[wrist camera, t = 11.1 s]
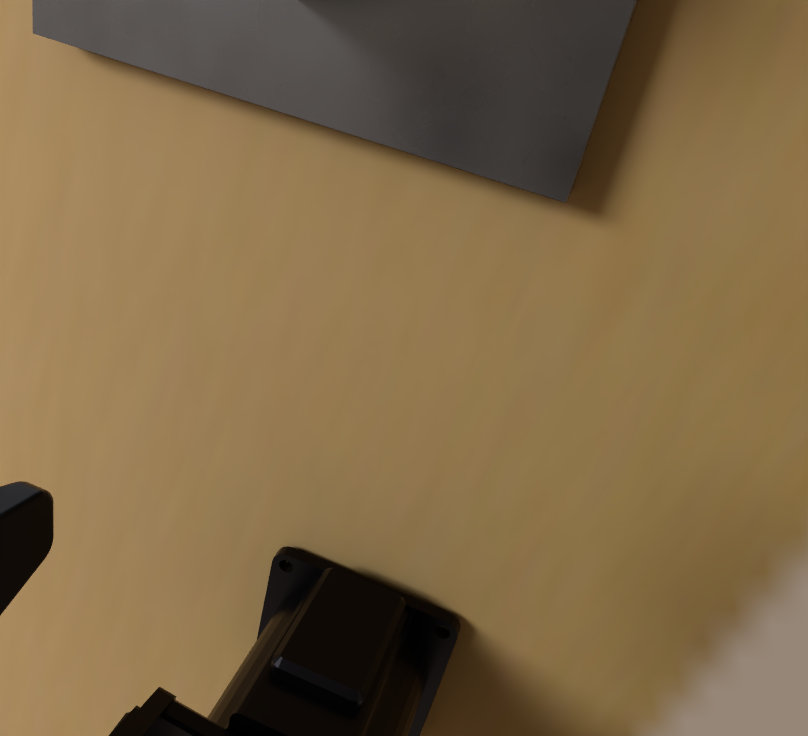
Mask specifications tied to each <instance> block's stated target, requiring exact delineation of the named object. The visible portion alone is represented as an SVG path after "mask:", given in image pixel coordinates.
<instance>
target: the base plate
mask: <svg viewBox="0 0 808 736" xmlns="http://www.w3.org/2000/svg"><path fill="white" fill-rule="evenodd" d="M637 1H638V0H33V33H34V34H37V35H40V36H43V37H46V38H49V39H53V40H56V41H59V42H62V43H65V44H68V45H71V46H75V47H78V48H81V49H84V50H87V51H90V52H93V53H97V54H100V55H103V56H106V57H109V58H112V59H115V60H119V61H122V62H125V63H128V64H131V65H134V66H137V67H141V68H144V69H147V70H150V71H153V72H156V73H159V74H163V75H166V76H169V77H172V78H175V79H178V80H181V81H185V82H188V83H191V84H194V85H197V86H200V87H203V88H207V89H210V90H213V91H216V92H219V93H222V94H225V95H229V96H232V97H235V98H238V99H241V100H244V101H247V102H251V103H254V104H257V105H260V106H263V107H266V108H269V109H273V110H276V111H279V112H282V113H285V114H288V115H292V116H295V117H298V118H301V119H304V120H307V121H310V122H314V123H317V124H320V125H323V126H326V127H329V128H332V129H336V130H339V131H342V132H345V133H348V134H351V135H354V136H358V137H361V138H364V139H367V140H370V141H373V142H376V143H380V144H383V145H386V146H389V147H392V148H395V149H398V150H402V151H405V152H408V153H411V154H414V155H417V156H420V157H424V158H427V159H430V160H433V161H436V162H439V163H442V164H446V165H449V166H452V167H455V168H458V169H461V170H464V171H468V172H471V173H474V174H477V175H480V176H483V177H486V178H490V179H493V180H496V181H499V182H502V183H505V184H508V185H512V186H515V187H518V188H521V189H524V190H527V191H530V192H534V193H537V194H540V195H543V196H546V197H549V198H552V199H556V200H559V201H562V202H565V203H566V201H567V199H568V197H569V195H570V193H571V191H572V188H573V185H574V182H575V179H576V176H577V174H578V171H579V168H580V165H581V162H582V159H583V156H584V153H585V151H586V148H587V145H588V142H589V139H590V136H591V133H592V131H593V128H594V125H595V122H596V119H597V116H598V113H599V110H600V108H601V105H602V102H603V99H604V96H605V93H606V90H607V87H608V85H609V82H610V79H611V76H612V73H613V70H614V67H615V64H616V62H617V59H618V56H619V53H620V50H621V47H622V44H623V42H624V39H625V36H626V33H627V30H628V27H629V24H630V21H631V19H632V16H633V13H634V10H635V7H636V4H637Z"/></svg>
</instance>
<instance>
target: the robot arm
mask: <svg viewBox="0 0 808 736" xmlns="http://www.w3.org/2000/svg"><path fill="white" fill-rule="evenodd" d="M52 542H53V497H52V496H51V494H50V492H48V491H47V490H44V489H42V488H40V487H37V486H35V485H33V484H30V483H27V482H22V481H21V482H15V483H11V484H8V485H4V486H1V487H0V615H1V614H2V613H3V611H4V610H5V609H6V607H7V606H8V605H9V604H10V602H11V601H12V600H13V599H14V597H15V596H16V595H17V593H18V592H19V591H20V590H21V588H22V587H23V586H24V584H25V583H26V582H27V581H28V579H29V578H30V577H31V576H32V574H33V573H34V572H35V570H36V569H37V568H38V567H39V565H40V564H41V563H42V562H43V560H44V559H45V558H46V556H47V554H48V553H49V551H50V549H51V546H52ZM286 561H288V562H290V563H291V564H292V565H291V564H289V563H287V562H286ZM440 626H443V627H445V628H447V629H448V630H446V629H443V628H441V627H440ZM459 631H460V623H459V620H458V619H457V618H456V617H455V616H454V615H452V614H450V613H449V612H446V611H444V610H441V609H439V608H437V607H434V606H432V605H429V604H427V603H425V602H422V601H420V600H417V599H415V598H413V597H410V596H408V595H405V594H403V593H401V592H398V591H396V590H393V589H391V588H389V587H386V586H384V585H381V584H379V583H377V582H374V581H372V580H370V579H367V578H365V577H362V576H360V575H358V574H355V573H353V572H350V571H348V570H346V569H343V568H341V567H338V566H336V565H334V564H331V563H329V562H326V561H324V560H322V559H319V558H317V557H314V556H312V555H310V554H307V553H305V552H302V551H300V550H298V549H295V548H292V547H283V548H281V549H280V550H279V551H278V552H277V554H276V555H275V557H274V559H273V561H272V566H271V571H270V576H269V581H268V586H267V591H266V596H265V601H264V606H263V611H262V617H261V622H260V627H259V632H258V637H257V641H256V643H255V644H254V646H253V647H252V649H251V650H250V652H249V654H248V655H247V657H246V658H245V660H244V661H243V663H242V664H241V666H240V668H239V669H238V671H237V672H236V674H235V675H234V677H233V679H232V680H231V682H230V683H229V685H228V686H227V688H226V689H225V691H224V693H223V694H222V696H221V697H220V699H219V700H218V702H217V703H216V705H215V707H214V708H213V710H212V711H211V713H210V714H209V716H208V717H207V718H206V717H204V716H202V715H201V714H199V713H197V712H195V711H194V710H192V709H190V708H188V707H187V706H185V705H183V704H181V703H180V702H178V701H176V700H175V699H176V696H175V695H173V694H171V693H169V692H168V691H166V690H164V689H162V688H161V687H159V688H158V689H157V690H156V691H155V692H154V693H153V694H152V695H151V697H150V698H149V699H148V700H147V701H146V702H145V703H144V704H143V705H142V707H141V708H140V707H138V706H136V707H135V708H134V709H133V710H132V711H131V712H129V713H126V714H125V715H124V716H123V718H122V719H121V720H120V722H119V723H118V724H117V726H116V727H115V728H114V730H113V731H112V732H111V734H110V735H109V736H419V735H420V733H421V730H422V727H423V725H424V722H425V720H426V717H427V715H428V712H429V709H430V707H431V704H432V702H433V699H434V697H435V694H436V691H437V689H438V686H439V684H440V681H441V679H442V676H443V673H444V671H445V668H446V666H447V663H448V661H449V658H450V655H451V653H452V650H453V648H454V645H455V642H456V640H457V637H458V634H459Z"/></svg>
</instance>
